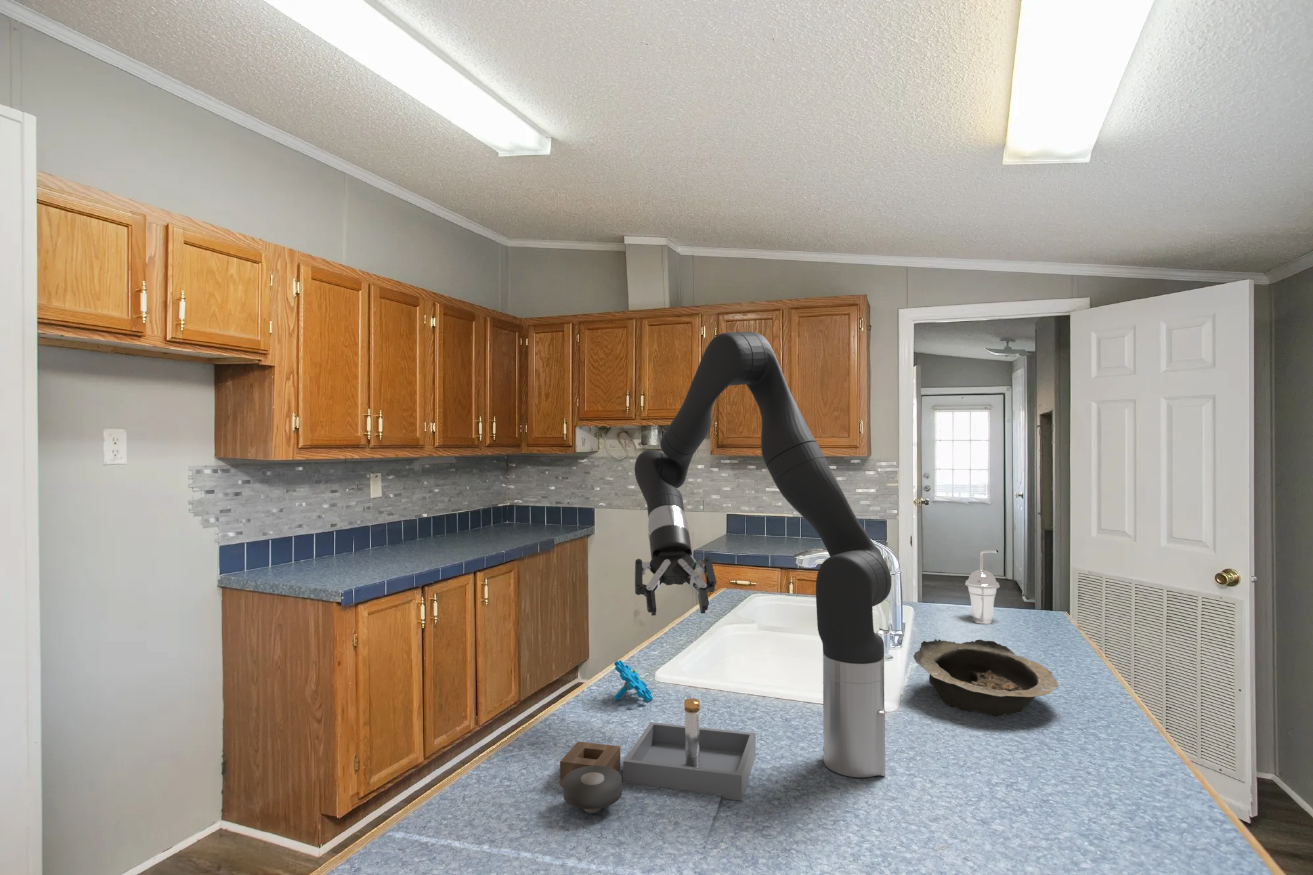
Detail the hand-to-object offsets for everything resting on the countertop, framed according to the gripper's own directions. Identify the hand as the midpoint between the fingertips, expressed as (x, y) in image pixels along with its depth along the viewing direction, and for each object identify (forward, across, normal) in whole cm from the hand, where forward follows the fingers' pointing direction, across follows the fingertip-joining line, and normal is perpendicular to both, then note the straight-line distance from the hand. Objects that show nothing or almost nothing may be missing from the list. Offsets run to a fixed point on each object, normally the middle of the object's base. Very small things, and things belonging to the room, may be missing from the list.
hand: (678, 612), depth 123 cm
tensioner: (+28, -15, +2) cm, 32 cm away
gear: (+2, -7, +28) cm, 29 cm away
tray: (+24, 0, +6) cm, 25 cm away
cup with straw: (-27, +91, +58) cm, 111 cm away
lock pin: (+23, 0, +6) cm, 24 cm away
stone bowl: (+10, +60, +21) cm, 64 cm away
